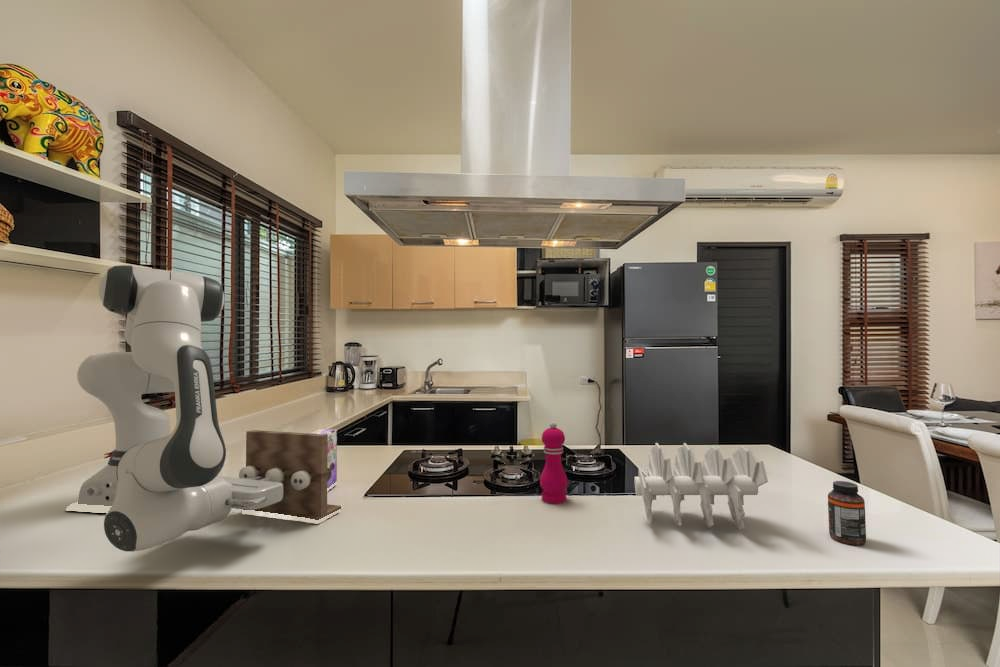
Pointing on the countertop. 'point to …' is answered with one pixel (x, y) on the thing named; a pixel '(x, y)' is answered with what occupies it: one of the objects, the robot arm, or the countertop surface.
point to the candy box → (330, 454)
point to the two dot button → (301, 480)
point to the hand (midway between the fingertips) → (265, 480)
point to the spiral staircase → (702, 480)
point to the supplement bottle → (846, 514)
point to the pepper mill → (553, 466)
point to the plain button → (276, 475)
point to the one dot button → (249, 472)
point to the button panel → (293, 469)
